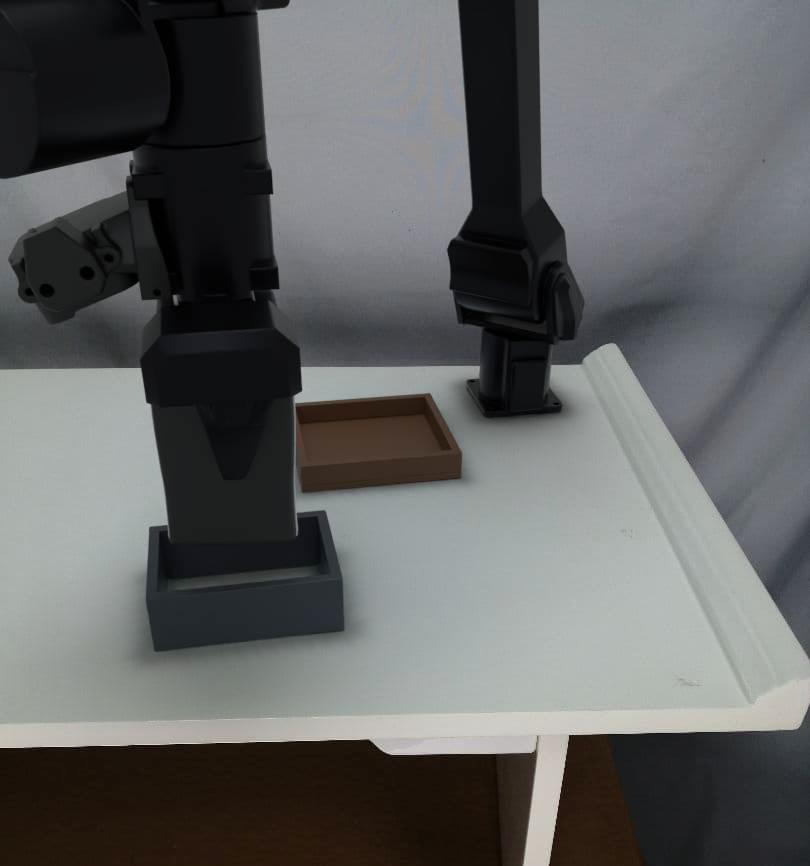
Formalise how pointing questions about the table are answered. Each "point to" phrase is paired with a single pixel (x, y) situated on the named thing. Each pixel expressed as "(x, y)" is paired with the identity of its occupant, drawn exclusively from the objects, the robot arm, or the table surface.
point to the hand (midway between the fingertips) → (232, 457)
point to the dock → (244, 589)
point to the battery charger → (227, 482)
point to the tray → (373, 442)
